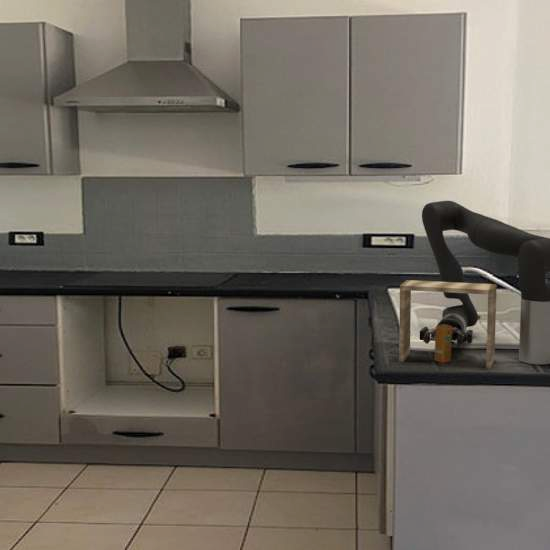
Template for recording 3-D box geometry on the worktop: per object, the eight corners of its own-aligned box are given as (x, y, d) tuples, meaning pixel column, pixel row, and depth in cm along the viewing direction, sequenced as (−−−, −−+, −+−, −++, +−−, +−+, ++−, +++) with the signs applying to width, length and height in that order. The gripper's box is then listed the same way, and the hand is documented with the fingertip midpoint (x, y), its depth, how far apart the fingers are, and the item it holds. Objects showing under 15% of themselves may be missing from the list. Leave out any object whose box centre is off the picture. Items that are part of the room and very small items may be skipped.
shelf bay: (494, 360, 227) (496, 284, 224) (490, 369, 219) (493, 290, 215) (405, 353, 235) (406, 280, 232) (399, 361, 227) (399, 285, 224)
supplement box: (443, 363, 225) (444, 327, 223) (434, 360, 228) (434, 325, 226) (451, 361, 227) (452, 325, 225) (442, 358, 230) (442, 323, 228)
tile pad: (449, 343, 247) (449, 341, 247) (443, 352, 237) (443, 350, 237) (412, 340, 251) (412, 338, 251) (404, 349, 240) (404, 347, 240)
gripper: (427, 314, 242) (416, 325, 227) (477, 317, 237) (469, 329, 222) (426, 339, 243) (415, 352, 228) (476, 342, 238) (468, 356, 223)
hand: (442, 341), depth 225 cm, fingers open, 8 cm apart
